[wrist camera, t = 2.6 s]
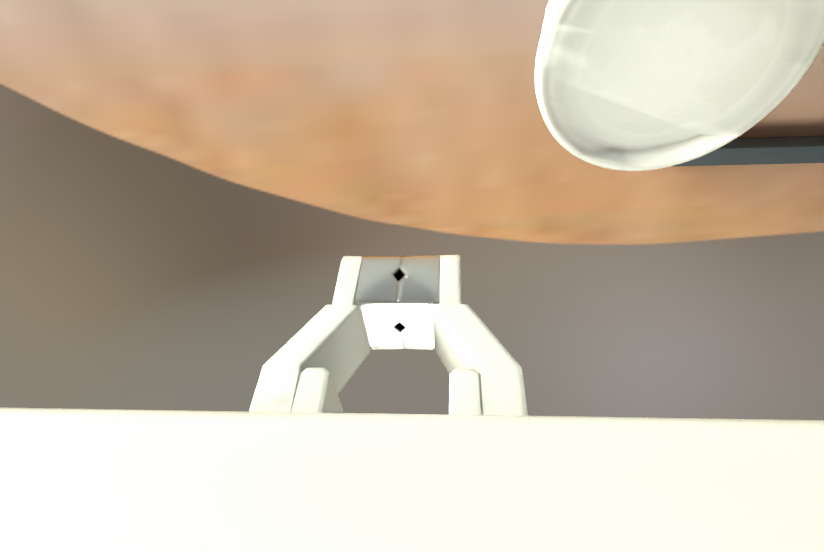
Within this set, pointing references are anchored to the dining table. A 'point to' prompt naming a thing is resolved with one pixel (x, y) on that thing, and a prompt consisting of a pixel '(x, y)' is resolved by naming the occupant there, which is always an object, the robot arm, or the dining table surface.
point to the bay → (764, 152)
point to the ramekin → (668, 74)
